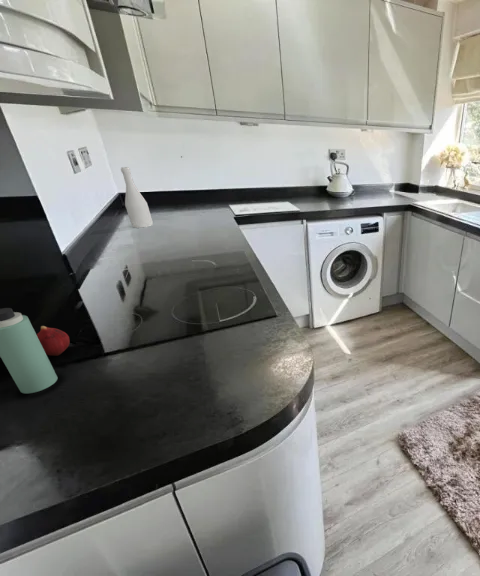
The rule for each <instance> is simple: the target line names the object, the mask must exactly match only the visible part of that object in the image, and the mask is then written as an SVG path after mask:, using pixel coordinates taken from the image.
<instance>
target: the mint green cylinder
mask: <svg viewBox="0 0 480 576" xmlns="http://www.w3.org/2000/svg"><path fill="white" fill-rule="evenodd" d="M0 358H1V360H2V362H3V364H4V365H5V367H6V369H7V370H8V371H7V372H9V374H10V376H11V378H12V380H13V381H14V383H15V385H16V387H17V388H18V390H19V392H20V393H22V394H33V393H37V392H40V391H43V390H46V389H48V388H49V387H51V386H52V385H54V384H55V383H56V382H57V381H58V375H57V373H56V370H55V369H54V367H53V365H52V363H51V361H50V359H49V357H48V355H46V353H45V351H44V349H43V347H42V345H41V343H40V341H39V339H38V337H37V333H36V331H35V329H34V327H33V325H32V323H31V320H30V319H29V317H28V316H27V315H25V314H22V313H21V312H17V311H16V312H15V311H13V309H12V308H11V307H4V308H0Z"/></svg>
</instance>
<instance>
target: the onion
mask: <svg viewBox="0 0 480 576" xmlns="http://www.w3.org/2000/svg"><path fill="white" fill-rule="evenodd" d="M36 335H37V337H38V339H39V341H40V343H41V345H42V347H43V349H44V351H45V353H46V355H47V356H53V357H58V356H60V355H61V354H63V353H64V352H65V351H66V350H67V349H68V348H69V346H70V342H71V341H70V336H69V334H68V333H66V332H65V331H63V330H61V329H58V328H55V327H48V326H45V325H41V326H40V331H39V332H38V333H36Z"/></svg>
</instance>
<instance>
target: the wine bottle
mask: <svg viewBox="0 0 480 576" xmlns="http://www.w3.org/2000/svg"><path fill="white" fill-rule="evenodd" d="M120 171H121V174H122V176H123V180H124V183H125V197H124V206H125V209H126V212H127V215H128V218H129V221H130V225H131V226H132V228H136V229H144V228H149V227H153V225H154V221H153V218H152V214H151V212H150V208H149V205H148V202H147V200H146V199H145V198H144V196H143V195H142V194H141V192H140V191H139V190H138V188H137V186H136V185H135V183H134V179H133V177H132V176H133V175H132V174H131V172H132V171H131V168H129V167H128V166H122V167H120Z"/></svg>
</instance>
